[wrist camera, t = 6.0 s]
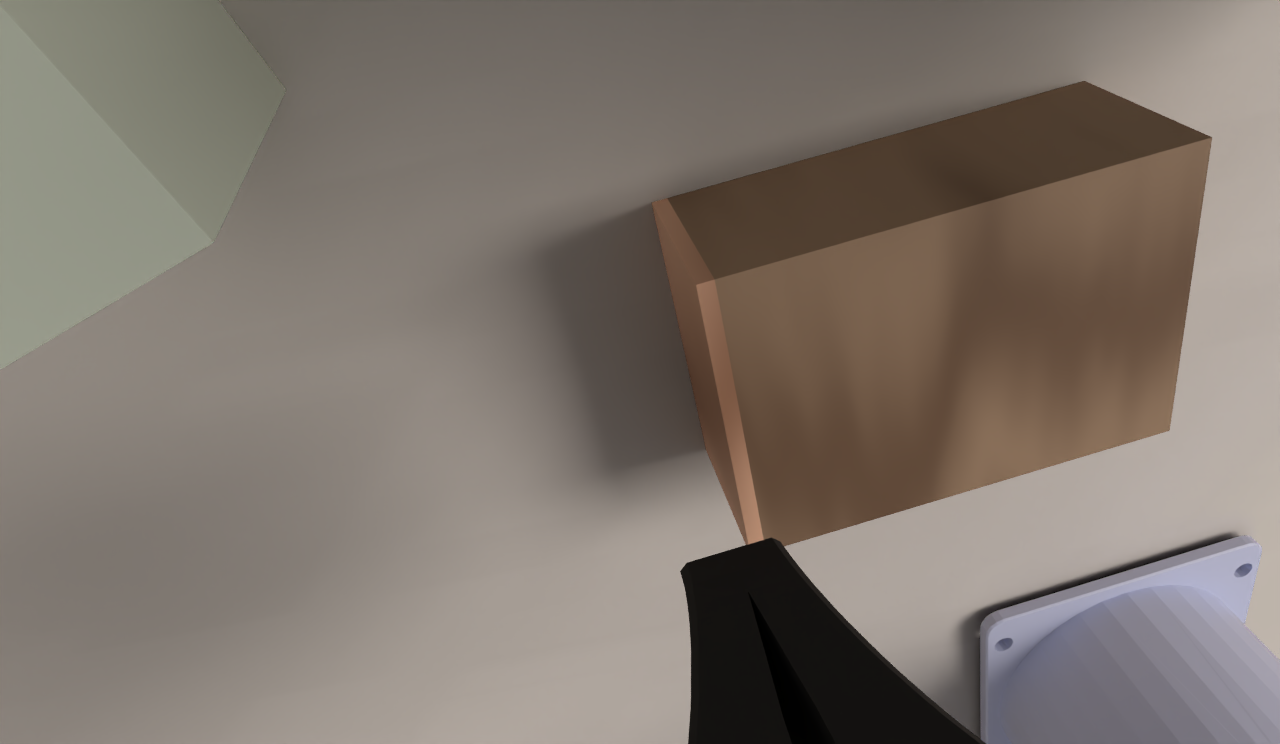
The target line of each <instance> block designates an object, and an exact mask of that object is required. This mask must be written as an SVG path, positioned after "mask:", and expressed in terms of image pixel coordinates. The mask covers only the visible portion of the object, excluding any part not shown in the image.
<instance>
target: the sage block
mask: <svg viewBox="0 0 1280 744" xmlns="http://www.w3.org/2000/svg"><path fill="white" fill-rule="evenodd" d="M285 92H286V89H285V88H284V86H283V85H282V84H281V82H280V81H279V80H278V78H277V77H276V76H275V74H274V73H273V72H272V70H271V69H270V68H269V67H268V65H267V64H266V63H265V61H264V60H263V59H262V57H261V56H260V55H259V53H258V52H257V51H256V49H255V48H254V47H253V45H252V44H251V43H250V41H249V40H248V39H247V37H246V36H245V35H244V34H243V32H242V31H241V30H240V28H239V27H238V26H237V24H236V23H235V22H234V20H233V19H232V18H231V16H230V15H229V14H228V12H227V11H226V10H225V8H224V7H223V6H222V4H221V3H220V2H219V0H0V370H1V369H3V368H4V367H6V366H8V365H9V364H11V363H13V362H14V361H16V360H18V359H19V358H21V357H23V356H24V355H26V354H28V353H29V352H31V351H33V350H34V349H36V348H38V347H40V346H41V345H43V344H45V343H46V342H48V341H50V340H51V339H53V338H55V337H56V336H58V335H60V334H61V333H63V332H65V331H66V330H68V329H70V328H71V327H73V326H75V325H76V324H78V323H80V322H81V321H83V320H85V319H86V318H88V317H90V316H92V315H93V314H95V313H97V312H98V311H100V310H102V309H103V308H105V307H107V306H108V305H110V304H112V303H113V302H115V301H117V300H118V299H120V298H122V297H123V296H125V295H127V294H128V293H130V292H132V291H133V290H135V289H137V288H139V287H140V286H142V285H144V284H145V283H147V282H149V281H150V280H152V279H154V278H155V277H157V276H159V275H160V274H162V273H164V272H165V271H167V270H169V269H170V268H172V267H174V266H175V265H177V264H179V263H180V262H182V261H184V260H185V259H187V258H189V257H191V256H192V255H194V254H196V253H197V252H199V251H201V250H202V249H204V248H206V247H207V246H209V245H211V244H212V243H214V241H215V239H216V237H217V235H218V233H219V231H220V229H221V226H222V224H223V222H224V220H225V218H226V216H227V214H228V212H229V210H230V208H231V206H232V203H233V201H234V199H235V197H236V195H237V193H238V191H239V189H240V187H241V185H242V182H243V180H244V178H245V176H246V174H247V172H248V170H249V168H250V166H251V164H252V161H253V159H254V157H255V155H256V153H257V151H258V149H259V147H260V145H261V143H262V140H263V138H264V136H265V134H266V132H267V130H268V128H269V126H270V124H271V122H272V120H273V117H274V115H275V113H276V111H277V109H278V107H279V105H280V103H281V101H282V99H283V96H284V94H285Z"/></svg>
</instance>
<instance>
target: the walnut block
mask: <svg viewBox="0 0 1280 744" xmlns="http://www.w3.org/2000/svg"><path fill="white" fill-rule="evenodd" d="M1211 141H1212V137H1210V136H1208V135H1205V134H1203V133H1201V132H1199V131H1196V130H1194V129H1192V128H1190V127H1187V126H1185V125H1183V124H1180V123H1178V122H1176V121H1174V120H1171V119H1169V118H1167V117H1165V116H1162V115H1160V114H1158V113H1156V112H1153V111H1151V110H1149V109H1147V108H1144V107H1142V106H1140V105H1138V104H1135V103H1133V102H1131V101H1129V100H1126V99H1124V98H1122V97H1120V96H1117V95H1115V94H1113V93H1110V92H1108V91H1106V90H1104V89H1101V88H1099V87H1097V86H1095V85H1092V84H1090V83H1088V82H1086V81H1083V82H1079V83H1075V84H1072V85H1068V86H1065V87H1061V88H1058V89H1054V90H1051V91H1047V92H1043V93H1040V94H1036V95H1033V96H1029V97H1026V98H1022V99H1019V100H1015V101H1011V102H1008V103H1004V104H1001V105H997V106H994V107H990V108H987V109H983V110H979V111H976V112H972V113H969V114H965V115H962V116H958V117H954V118H951V119H947V120H944V121H940V122H937V123H933V124H930V125H926V126H922V127H919V128H915V129H912V130H908V131H905V132H901V133H898V134H894V135H890V136H887V137H883V138H880V139H876V140H873V141H869V142H865V143H862V144H858V145H855V146H851V147H848V148H844V149H841V150H837V151H833V152H830V153H826V154H823V155H819V156H816V157H812V158H809V159H805V160H801V161H798V162H794V163H791V164H787V165H784V166H780V167H777V168H773V169H769V170H766V171H762V172H759V173H755V174H752V175H748V176H744V177H741V178H737V179H734V180H730V181H727V182H723V183H720V184H716V185H712V186H709V187H705V188H702V189H698V190H695V191H691V192H688V193H684V194H680V195H677V196H673V197H670V198H666V199H663V200H659V201H656V202H652V207H653V211H654V216H655V221H656V225H657V230H658V234H659V239H660V243H661V248H662V252H663V257H664V261H665V266H666V270H667V275H668V279H669V284H670V288H671V293H672V298H673V302H674V307H675V311H676V316H677V320H678V325H679V329H680V334H681V338H682V343H683V347H684V352H685V356H686V361H687V366H688V370H689V375H690V379H691V384H692V388H693V393H694V397H695V402H696V406H697V411H698V415H699V420H700V424H701V429H702V434H703V438H704V443H705V447H706V451H707V453H708V455H709V458H710V460H711V463H712V465H713V467H714V470H715V472H716V474H717V477H718V479H719V482H720V484H721V486H722V489H723V491H724V493H725V496H726V498H727V501H728V503H729V505H730V508H731V510H732V512H733V515H734V517H735V520H736V522H737V524H738V527H739V529H740V532H741V534H742V536H743V539H744V541H745V543H746V545H748V544H751V543H755V542H758V541H761V540H765V539H768V538H771V537H772V538H774V539H776V540H778V541H780V542H781V543H782V545H783V546H787V545H790V544H793V543H797V542H800V541H803V540H807V539H810V538H813V537H817V536H820V535H823V534H827V533H830V532H833V531H837V530H840V529H843V528H847V527H850V526H853V525H857V524H860V523H863V522H867V521H870V520H873V519H877V518H880V517H883V516H887V515H890V514H893V513H896V512H900V511H903V510H906V509H910V508H913V507H916V506H920V505H923V504H926V503H930V502H933V501H936V500H940V499H943V498H946V497H950V496H953V495H956V494H960V493H963V492H966V491H970V490H973V489H976V488H980V487H983V486H986V485H990V484H993V483H996V482H1000V481H1003V480H1006V479H1010V478H1013V477H1016V476H1020V475H1023V474H1026V473H1030V472H1033V471H1036V470H1040V469H1043V468H1046V467H1050V466H1053V465H1056V464H1060V463H1063V462H1066V461H1070V460H1073V459H1076V458H1080V457H1083V456H1086V455H1090V454H1093V453H1096V452H1100V451H1103V450H1106V449H1110V448H1113V447H1116V446H1120V445H1123V444H1126V443H1130V442H1133V441H1136V440H1140V439H1143V438H1146V437H1150V436H1153V435H1156V434H1160V433H1163V432H1166V431H1169V430H1170V423H1171V416H1172V409H1173V402H1174V396H1175V389H1176V382H1177V375H1178V368H1179V361H1180V354H1181V347H1182V341H1183V334H1184V327H1185V320H1186V313H1187V306H1188V299H1189V292H1190V286H1191V279H1192V272H1193V265H1194V258H1195V251H1196V244H1197V237H1198V230H1199V224H1200V217H1201V210H1202V203H1203V196H1204V189H1205V182H1206V175H1207V169H1208V162H1209V155H1210V148H1211Z"/></svg>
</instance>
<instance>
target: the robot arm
mask: <svg viewBox="0 0 1280 744" xmlns="http://www.w3.org/2000/svg"><path fill="white" fill-rule="evenodd" d="M1261 553H1262V547H1261V546H1260V544H1259V543H1257V542H1256V541H1255V540H1254V539H1253V538H1252V537H1251V536H1247V535H1244V536H1238V537H1235V538H1231V539H1228V540H1225V541H1222V542H1218V543H1215V544H1212V545H1209V546H1205V547H1202V548H1199V549H1196V550H1192V551H1189V552H1186V553H1183V554H1179V555H1176V556H1173V557H1170V558H1166V559H1163V560H1160V561H1157V562H1153V563H1150V564H1147V565H1144V566H1140V567H1137V568H1134V569H1131V570H1127V571H1124V572H1121V573H1118V574H1114V575H1111V576H1108V577H1105V578H1101V579H1098V580H1095V581H1092V582H1088V583H1085V584H1082V585H1079V586H1075V587H1072V588H1069V589H1066V590H1062V591H1059V592H1056V593H1053V594H1049V595H1046V596H1043V597H1040V598H1036V599H1033V600H1030V601H1027V602H1023V603H1020V604H1017V605H1014V606H1010V607H1007V608H1004V609H1001V610H997V611H995V612H993V613H990V614H989V615H988V616H987V617H985V619H984V620H983V621H982V623H981V627H980V712H981V739H979V738H978V737H977V736H976V735H974V734H973V733H972V732H970V731H969V730H968V729H967V728H965V727H964V726H963V725H961V724H960V723H959V722H958V721H956V720H955V719H954V718H953V717H951V716H950V715H949V714H948V713H947V712H945V711H944V710H943V709H942V708H941V707H939V706H938V705H937V704H936V703H935V702H933V701H932V700H931V699H930V698H929V697H928V696H926V695H925V694H924V693H923V692H922V691H921V690H920V689H918V688H917V687H916V686H915V685H914V684H913V683H912V682H911V681H909V680H908V679H907V678H906V677H905V676H904V675H903V674H901V673H900V672H899V671H898V670H897V669H896V668H895V667H894V666H893V665H892V664H891V663H890V662H889V661H887V660H886V659H885V658H884V657H883V656H882V655H881V654H880V653H879V652H878V651H877V650H876V649H875V648H874V647H873V646H872V645H871V644H870V643H869V642H868V641H867V640H866V639H865V638H864V637H863V636H862V635H861V634H860V633H859V632H858V631H857V630H856V629H855V628H854V627H853V626H852V625H851V624H850V623H849V622H848V621H847V620H846V619H845V618H844V617H843V616H842V615H841V614H840V613H839V612H838V611H837V610H836V609H835V608H834V607H833V605H832V604H831V603H830V602H829V601H828V600H827V599H826V598H825V597H824V595H823V594H822V593H821V592H820V591H819V590H818V589H817V588H816V586H815V585H814V584H813V583H812V582H811V581H810V579H809V578H808V577H807V576H806V575H805V573H804V572H803V571H802V570H801V569H800V567H799V566H798V565H797V564H796V562H795V561H794V560H793V558H792V557H791V556H790V554H789V553H788V552H787V550H786V549H785V548H784V546H783V545H782V543H781V542H780V541H778V540H776V539H774V538H772V537H771V538H768V539H765V540H761V541H758V542H755V543H751V544H748V545H745V546H741V547H738V548H735V549H731V550H728V551H725V552H721V553H718V554H715V555H712V556H708V557H705V558H702V559H698V560H695V561H692V562H688V563H686V565H685V566H684V567H683V568H682V570H681V571H680V572H681V575H682V579H683V583H684V587H685V591H686V597H687V603H688V611H689V621H690V638H691V712H690V726H689V740H688V744H1280V660H1279V659H1278V658H1277V657H1276V656H1275V655H1274V654H1273V653H1272V652H1271V651H1270V650H1269V649H1268V648H1267V647H1266V646H1265V645H1264V644H1263V643H1262V642H1261V641H1260V640H1259V639H1258V637H1257V636H1256V635H1255V634H1254V633H1253V632H1252V631H1251V630H1250V629H1249V628H1248V627H1247V626H1246V625H1245V620H1246V616H1247V612H1248V607H1249V603H1250V599H1251V595H1252V591H1253V587H1254V582H1255V578H1256V574H1257V570H1258V566H1259V562H1260V557H1261Z"/></svg>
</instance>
